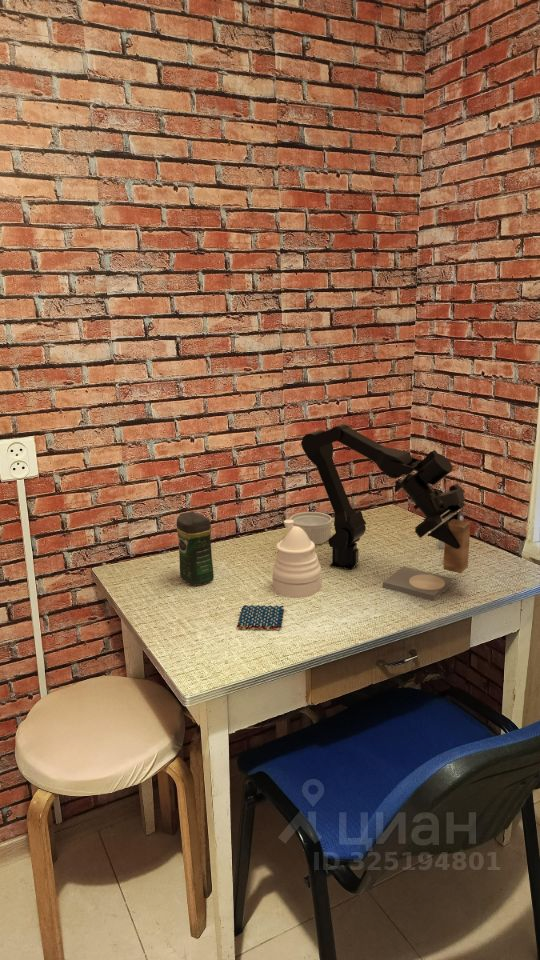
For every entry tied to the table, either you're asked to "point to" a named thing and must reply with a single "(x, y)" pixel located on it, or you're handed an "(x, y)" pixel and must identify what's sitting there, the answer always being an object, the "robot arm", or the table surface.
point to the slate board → (417, 583)
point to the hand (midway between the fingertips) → (462, 544)
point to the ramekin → (314, 525)
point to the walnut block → (458, 557)
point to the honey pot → (296, 564)
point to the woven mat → (261, 617)
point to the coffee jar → (195, 548)
